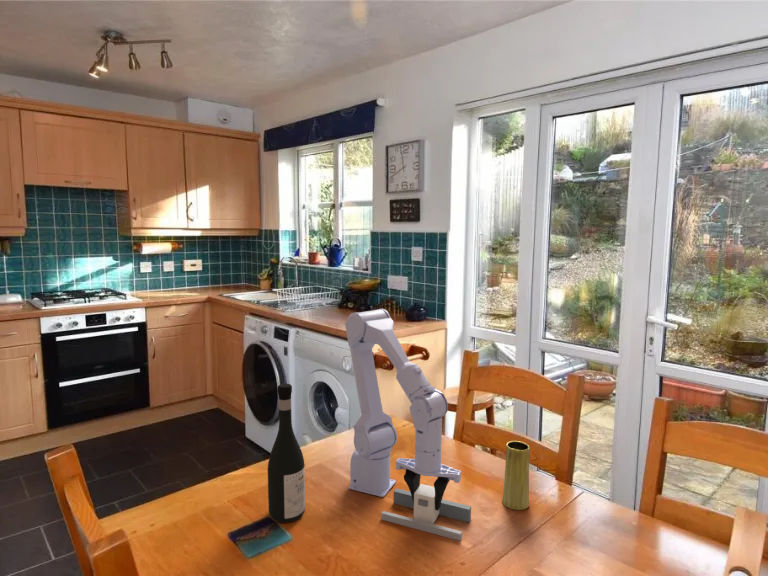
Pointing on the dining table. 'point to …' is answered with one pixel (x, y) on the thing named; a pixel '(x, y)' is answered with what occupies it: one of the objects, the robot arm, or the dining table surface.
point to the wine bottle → (286, 467)
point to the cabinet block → (425, 504)
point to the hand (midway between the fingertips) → (427, 505)
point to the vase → (516, 476)
